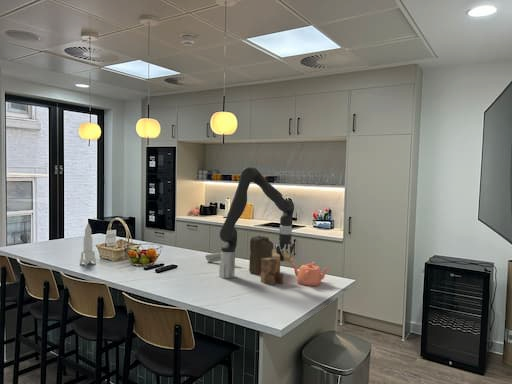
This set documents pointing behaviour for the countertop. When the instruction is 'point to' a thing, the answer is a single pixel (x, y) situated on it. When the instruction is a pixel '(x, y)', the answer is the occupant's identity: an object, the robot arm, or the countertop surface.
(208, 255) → the gun
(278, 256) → the rail
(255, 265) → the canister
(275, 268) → the slotted wooden stand
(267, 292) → the countertop surface
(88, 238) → the sculpture
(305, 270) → the pot
